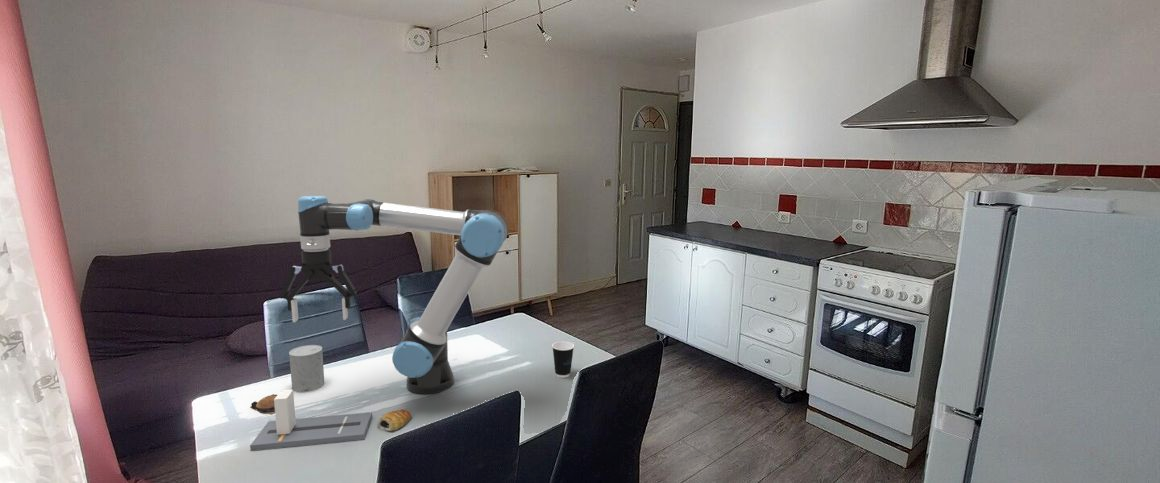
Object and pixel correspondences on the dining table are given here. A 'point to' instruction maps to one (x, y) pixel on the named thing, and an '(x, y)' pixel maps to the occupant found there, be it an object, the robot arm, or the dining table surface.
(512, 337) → the dining table surface
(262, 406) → the wood slice
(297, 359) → the grey concrete cylinder
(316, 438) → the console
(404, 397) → the dining table surface
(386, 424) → the pastry
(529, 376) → the dining table surface
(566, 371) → the dixie cup
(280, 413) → the fader tab
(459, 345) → the dining table surface
